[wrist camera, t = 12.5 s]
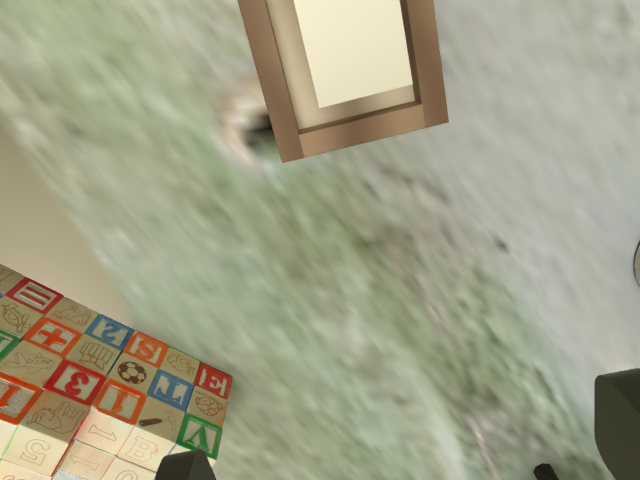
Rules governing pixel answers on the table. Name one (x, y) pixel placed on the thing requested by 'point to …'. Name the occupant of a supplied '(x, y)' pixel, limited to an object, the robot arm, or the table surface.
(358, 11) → the block
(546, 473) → the solar garden light
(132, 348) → the stack of blocks
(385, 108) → the wooden serving tray
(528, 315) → the table surface
